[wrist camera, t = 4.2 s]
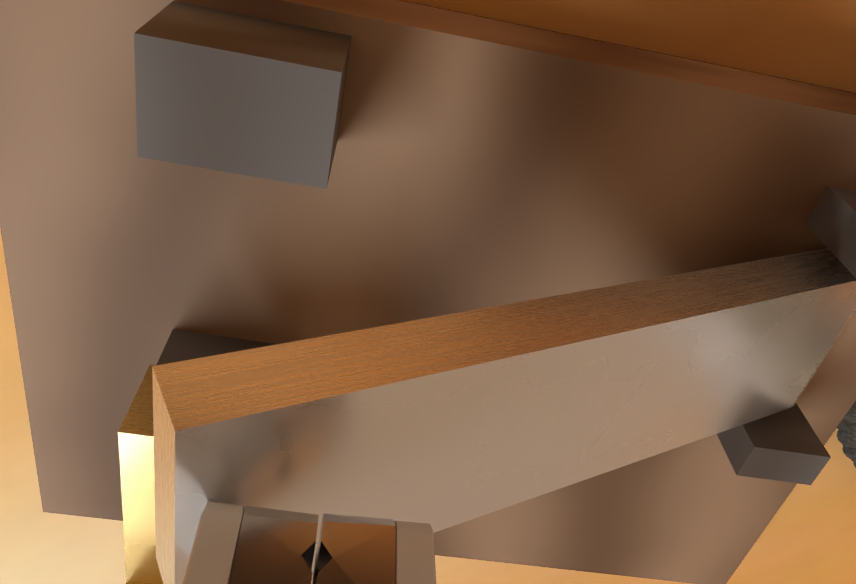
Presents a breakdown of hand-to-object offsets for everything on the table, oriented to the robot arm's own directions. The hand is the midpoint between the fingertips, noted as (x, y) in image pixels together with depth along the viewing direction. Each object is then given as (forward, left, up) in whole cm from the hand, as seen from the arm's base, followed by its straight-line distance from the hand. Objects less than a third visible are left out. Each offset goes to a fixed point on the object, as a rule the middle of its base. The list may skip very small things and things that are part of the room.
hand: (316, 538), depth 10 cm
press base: (-3, +3, -10) cm, 11 cm away
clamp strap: (-4, 0, -5) cm, 6 cm away
